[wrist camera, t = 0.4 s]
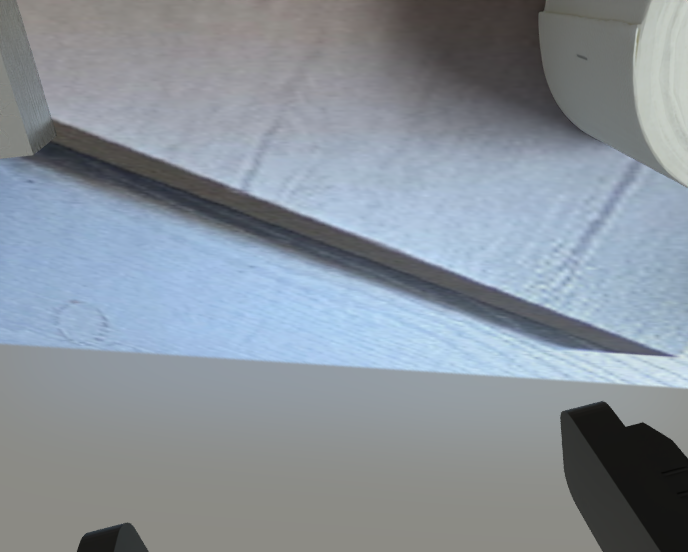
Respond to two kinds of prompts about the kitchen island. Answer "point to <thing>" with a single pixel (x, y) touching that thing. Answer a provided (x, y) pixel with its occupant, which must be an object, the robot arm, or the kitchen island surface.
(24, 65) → the tray
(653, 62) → the roll of tape
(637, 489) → the robot arm
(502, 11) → the kitchen island surface
